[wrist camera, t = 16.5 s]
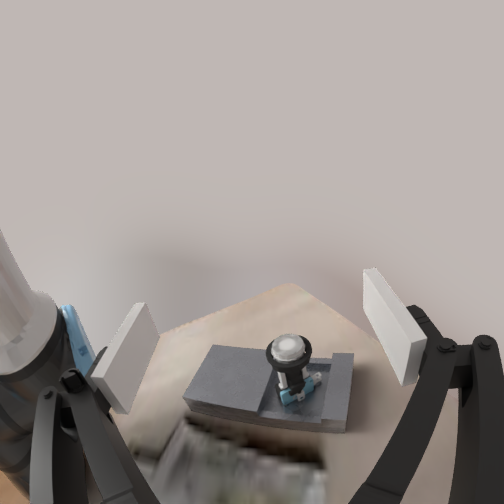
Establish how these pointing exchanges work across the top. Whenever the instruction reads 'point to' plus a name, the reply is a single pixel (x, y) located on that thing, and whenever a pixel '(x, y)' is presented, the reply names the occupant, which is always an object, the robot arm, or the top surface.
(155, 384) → the top surface
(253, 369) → the grey recessed block
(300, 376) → the push button
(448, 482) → the top surface
